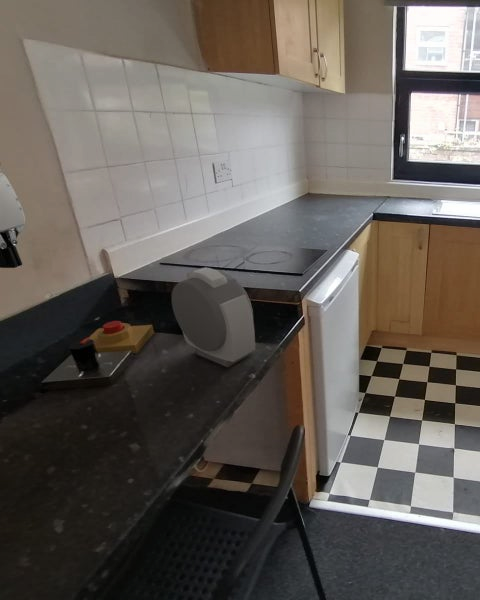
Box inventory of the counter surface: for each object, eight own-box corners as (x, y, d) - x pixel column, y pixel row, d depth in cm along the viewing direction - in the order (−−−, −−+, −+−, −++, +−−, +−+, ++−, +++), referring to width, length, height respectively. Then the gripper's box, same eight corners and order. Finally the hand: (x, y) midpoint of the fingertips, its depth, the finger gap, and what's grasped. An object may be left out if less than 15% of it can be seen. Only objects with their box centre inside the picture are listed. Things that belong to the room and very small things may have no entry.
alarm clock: (264, 357, 90) (251, 272, 81) (232, 376, 83) (214, 285, 75) (212, 337, 98) (195, 258, 90) (179, 353, 91) (158, 268, 83)
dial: (92, 370, 81) (84, 347, 79) (72, 370, 81) (63, 347, 79) (105, 359, 85) (97, 337, 83) (86, 359, 85) (78, 337, 83)
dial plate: (44, 390, 78) (40, 381, 78) (73, 362, 87) (70, 354, 86) (112, 384, 80) (109, 375, 79) (133, 358, 89) (131, 349, 88)
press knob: (101, 335, 91) (99, 328, 91) (109, 327, 94) (107, 321, 94) (119, 334, 92) (117, 327, 91) (126, 326, 95) (124, 320, 94)
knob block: (78, 357, 89) (72, 342, 88) (101, 336, 98) (96, 321, 97) (137, 353, 91) (132, 337, 89) (154, 332, 100) (150, 318, 98)
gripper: (-11, 164, 78) (25, 254, 85) (-98, 173, 64) (-47, 280, 72) (28, 164, 78) (60, 255, 85) (-52, 173, 64) (-5, 280, 72)
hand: (11, 266), depth 79 cm, fingers closed
